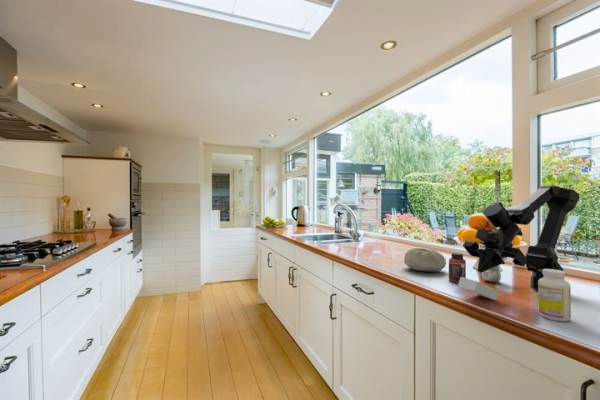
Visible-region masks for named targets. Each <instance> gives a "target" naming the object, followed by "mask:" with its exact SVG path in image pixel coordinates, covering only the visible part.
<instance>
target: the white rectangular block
mask: <svg viewBox="0 0 600 400" xmlns="http://www.w3.org/2000/svg"><path fill="white" fill-rule="evenodd" d="M457 285H458V286H457V287H460V288H463V289H465V290H467V291H469V292H472V293H474V294H476V295H479V296H482V297H484V298H488V299H491V300H493V301H497V298H498V294H499V291H498V290H497V289H495V288H493V287H490V286H487V285H486V284H483V283H481V282H480V281H477V280H473V279H470V278H467V277H466V278H462V277H460V281H459V283H457Z"/></svg>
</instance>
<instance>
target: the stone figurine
mask: <svg viewBox="0 0 600 400" xmlns="http://www.w3.org/2000/svg"><path fill="white" fill-rule="evenodd" d="M481 245H482V246H485V245H483V244H482V243H481ZM481 278H482V279H483V280H484V281H486V282H489V283H499V282H500V281H501V279H502V273H501V269H500V265H498V266H495V267H493V268H490V269H488V270H486V271H484V272H482V273H481Z"/></svg>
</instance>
